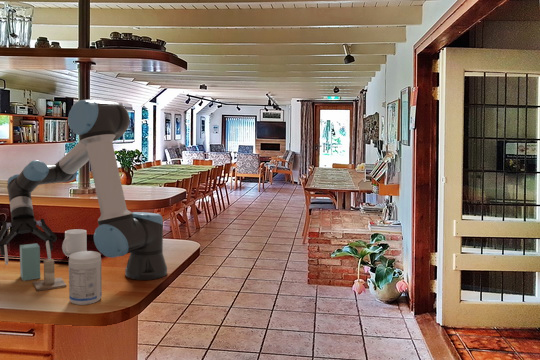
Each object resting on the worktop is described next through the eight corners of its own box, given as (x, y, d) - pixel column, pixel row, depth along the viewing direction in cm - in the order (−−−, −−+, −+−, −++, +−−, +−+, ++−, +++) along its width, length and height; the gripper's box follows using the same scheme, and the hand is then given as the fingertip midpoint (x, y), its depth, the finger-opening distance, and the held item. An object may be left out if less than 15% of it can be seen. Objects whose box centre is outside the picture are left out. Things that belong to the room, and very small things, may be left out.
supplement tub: (80, 293, 153) (79, 249, 151) (107, 296, 151) (107, 251, 150) (62, 304, 143) (62, 257, 141) (91, 307, 142) (91, 260, 140)
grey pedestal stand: (32, 283, 161) (32, 258, 160) (60, 278, 166) (60, 255, 165) (37, 291, 153) (36, 265, 152) (66, 286, 158) (65, 261, 157)
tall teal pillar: (20, 276, 167) (19, 245, 166) (37, 273, 170) (37, 243, 169) (22, 280, 163) (21, 248, 161) (40, 278, 166) (39, 246, 164)
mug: (71, 261, 186) (71, 236, 185) (54, 259, 189) (53, 234, 187) (90, 254, 198) (90, 230, 197) (74, 252, 200) (74, 228, 199)
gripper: (56, 214, 186) (65, 260, 175) (-17, 219, 172) (-13, 270, 161) (59, 203, 181) (67, 250, 170) (-17, 207, 167) (-12, 259, 156)
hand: (28, 260), depth 166 cm, fingers open, 13 cm apart
